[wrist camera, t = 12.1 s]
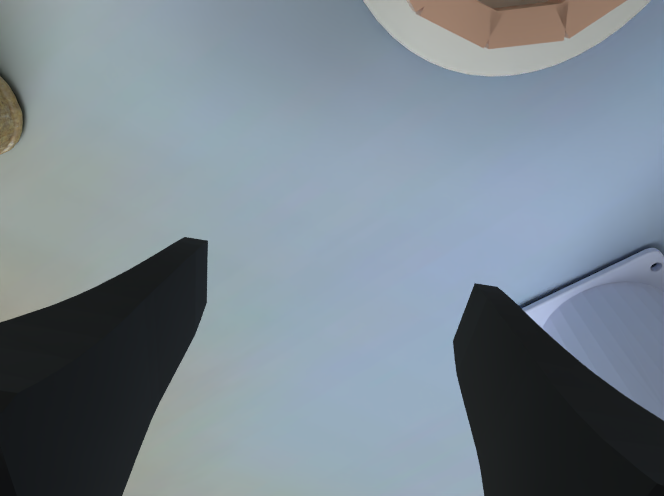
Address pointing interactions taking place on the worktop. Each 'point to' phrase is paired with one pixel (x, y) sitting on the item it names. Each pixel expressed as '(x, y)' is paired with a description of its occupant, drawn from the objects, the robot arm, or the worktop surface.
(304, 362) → the worktop surface
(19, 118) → the sprinkles bottle
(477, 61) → the collar dish
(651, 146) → the worktop surface
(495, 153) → the worktop surface
